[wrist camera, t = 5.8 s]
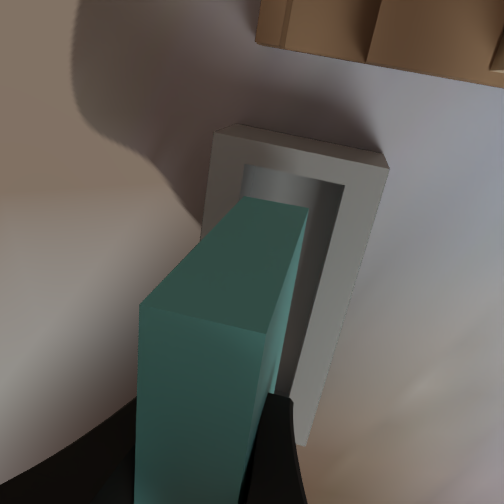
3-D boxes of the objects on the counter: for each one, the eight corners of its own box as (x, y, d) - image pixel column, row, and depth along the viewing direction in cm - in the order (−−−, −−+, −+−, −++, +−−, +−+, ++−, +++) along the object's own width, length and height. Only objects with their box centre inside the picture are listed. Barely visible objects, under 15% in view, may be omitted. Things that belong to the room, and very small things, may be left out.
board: (308, 207, 13) (265, 333, 6) (266, 433, 16) (211, 661, 10) (244, 196, 13) (139, 303, 6) (216, 419, 16) (130, 633, 10)
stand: (383, 153, 16) (390, 169, 13) (311, 399, 21) (305, 446, 18) (236, 123, 17) (213, 132, 14) (200, 367, 22) (178, 408, 19)
